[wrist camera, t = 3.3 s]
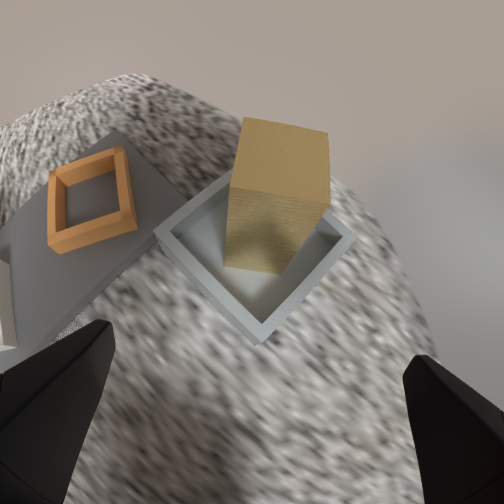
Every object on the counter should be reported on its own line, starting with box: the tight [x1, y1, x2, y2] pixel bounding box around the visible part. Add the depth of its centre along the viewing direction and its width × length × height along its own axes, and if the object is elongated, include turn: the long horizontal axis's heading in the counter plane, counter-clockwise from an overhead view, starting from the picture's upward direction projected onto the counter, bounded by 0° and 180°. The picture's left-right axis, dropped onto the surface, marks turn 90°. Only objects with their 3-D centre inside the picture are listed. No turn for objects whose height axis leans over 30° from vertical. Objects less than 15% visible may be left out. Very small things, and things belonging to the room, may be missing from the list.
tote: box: [153, 168, 357, 345], centre depth 21 cm, size 10×10×4 cm
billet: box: [224, 117, 330, 275], centre depth 16 cm, size 4×4×10 cm
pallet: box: [0, 130, 188, 374], centre depth 19 cm, size 12×26×4 cm, turn 136°
